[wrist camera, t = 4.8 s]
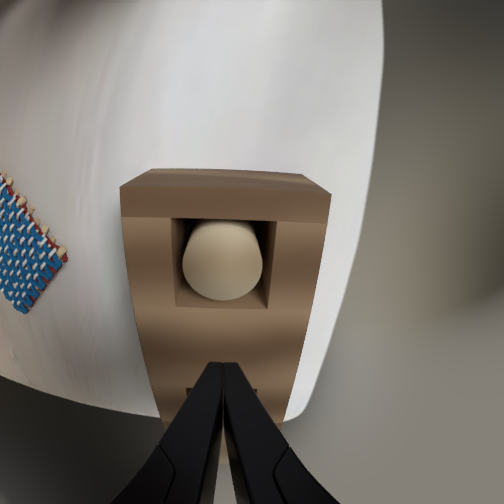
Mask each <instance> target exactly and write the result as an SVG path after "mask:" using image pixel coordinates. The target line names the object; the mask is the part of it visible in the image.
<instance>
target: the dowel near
mask: <svg viewBox="0 0 504 504" xmlns="http://www.w3.org/2000/svg"><path fill="white" fill-rule="evenodd" d="M183 272H184V275H185V278H186V280H187V282H188V283H189V285H190V286H191V287H192V288H193V289H194V290H195V291H196V292H198V293H199V294H201V295H202V296H205V297H207V298H210V299H214V300H221V301H223V300H232V299H236V298H239V297H241V296H243V295H245V294H247V293H248V292H249V291H250V290H252V289H253V288H254V286H255V285H256V284H257V282H258V281H259V278H260V276H261V273H262V257H261V253H260V249H259V245H258V241H257V237H256V233H255V229H254V225H253V221H252V220H236V219H205V218H196V221H195V224H194V227H193V230H192V233H191V235H190V238H189V241H188V244H187V247H186V250H185V253H184V256H183Z"/></svg>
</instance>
